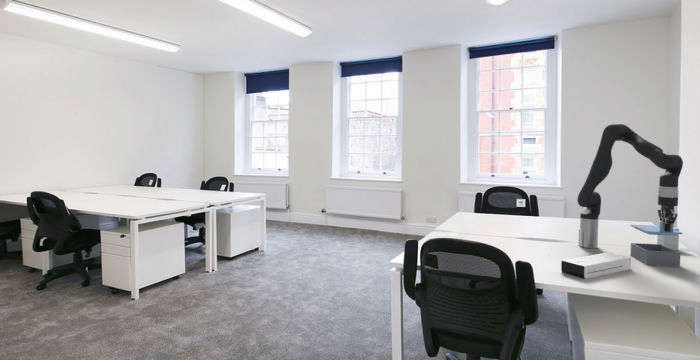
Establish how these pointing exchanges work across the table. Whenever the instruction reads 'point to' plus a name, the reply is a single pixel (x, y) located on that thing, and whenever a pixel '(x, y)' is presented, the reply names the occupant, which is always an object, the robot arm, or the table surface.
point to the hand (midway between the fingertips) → (666, 231)
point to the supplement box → (669, 240)
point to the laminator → (595, 265)
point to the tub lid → (656, 229)
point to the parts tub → (655, 254)
